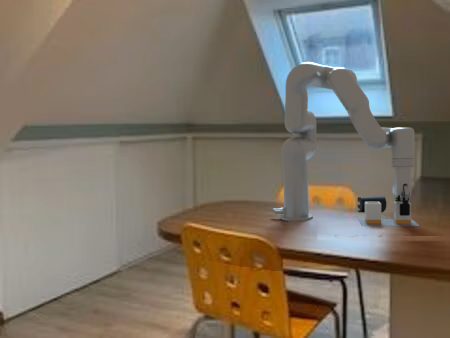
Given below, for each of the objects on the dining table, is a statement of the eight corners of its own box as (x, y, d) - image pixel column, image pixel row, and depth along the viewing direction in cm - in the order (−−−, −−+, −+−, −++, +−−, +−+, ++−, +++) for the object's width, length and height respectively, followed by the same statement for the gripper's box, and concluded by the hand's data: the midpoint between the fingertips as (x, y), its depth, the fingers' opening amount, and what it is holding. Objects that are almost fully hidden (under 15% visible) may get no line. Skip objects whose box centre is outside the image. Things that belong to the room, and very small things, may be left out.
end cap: (362, 214, 204) (362, 198, 203) (356, 211, 211) (356, 195, 210) (386, 213, 204) (386, 197, 204) (380, 210, 211) (380, 194, 211)
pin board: (361, 229, 175) (361, 214, 175) (358, 223, 187) (358, 208, 186) (419, 230, 172) (419, 214, 172) (412, 223, 184) (412, 208, 183)
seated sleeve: (366, 223, 178) (366, 203, 177) (364, 220, 183) (364, 201, 182) (381, 223, 177) (381, 203, 177) (379, 220, 182) (379, 201, 182)
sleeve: (396, 223, 177) (396, 203, 176) (393, 220, 182) (393, 201, 181) (411, 223, 176) (411, 203, 175) (408, 221, 181) (408, 201, 180)
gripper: (387, 161, 186) (387, 208, 187) (395, 165, 169) (395, 217, 170) (408, 161, 185) (408, 208, 186) (419, 165, 168) (419, 217, 169)
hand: (402, 212), depth 178 cm, fingers open, 8 cm apart
